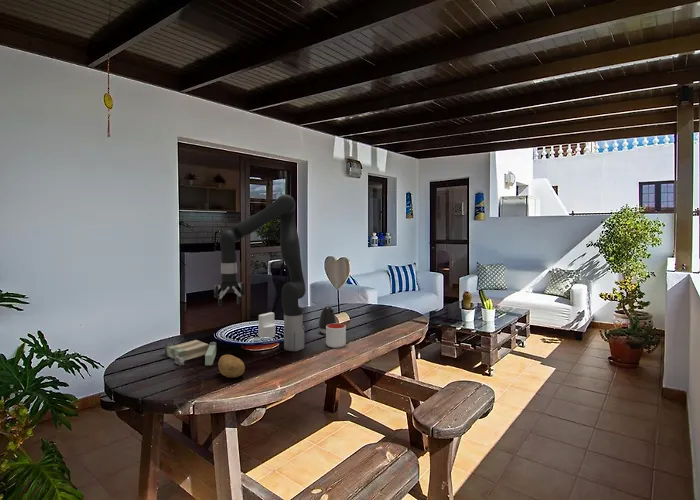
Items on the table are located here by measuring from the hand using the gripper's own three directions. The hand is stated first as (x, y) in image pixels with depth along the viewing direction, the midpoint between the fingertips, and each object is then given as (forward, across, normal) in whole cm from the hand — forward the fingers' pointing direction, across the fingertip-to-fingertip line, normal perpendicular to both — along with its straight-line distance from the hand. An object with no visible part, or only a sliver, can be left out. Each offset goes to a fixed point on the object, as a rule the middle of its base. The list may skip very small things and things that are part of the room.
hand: (229, 305), depth 194 cm
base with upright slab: (+22, -24, -10) cm, 34 cm away
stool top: (+22, +20, -2) cm, 29 cm away
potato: (+22, +10, +33) cm, 41 cm away
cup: (+22, -46, +24) cm, 56 cm away
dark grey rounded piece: (+22, -54, +4) cm, 58 cm away
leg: (+22, +12, +8) cm, 26 cm away
